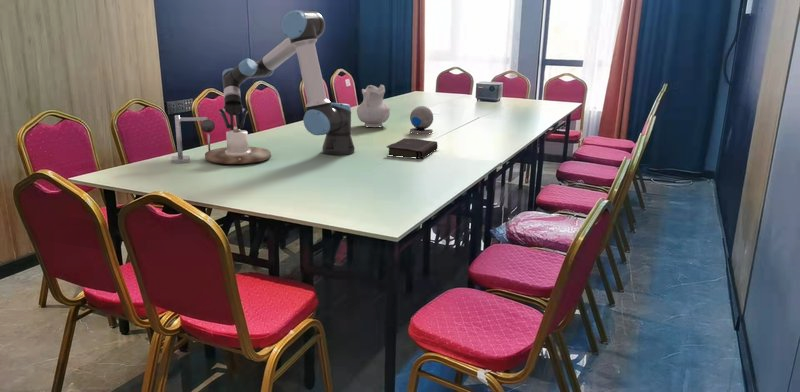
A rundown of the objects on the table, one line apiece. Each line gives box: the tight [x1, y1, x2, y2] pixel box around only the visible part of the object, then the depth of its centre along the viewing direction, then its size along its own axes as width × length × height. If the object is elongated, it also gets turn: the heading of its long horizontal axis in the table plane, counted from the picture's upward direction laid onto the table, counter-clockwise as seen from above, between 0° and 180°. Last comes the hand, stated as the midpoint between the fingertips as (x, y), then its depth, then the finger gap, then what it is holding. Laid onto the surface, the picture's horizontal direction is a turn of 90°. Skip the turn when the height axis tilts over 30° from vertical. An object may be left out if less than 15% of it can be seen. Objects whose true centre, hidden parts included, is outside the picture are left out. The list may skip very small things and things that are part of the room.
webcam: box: [409, 105, 434, 135], centre depth 335 cm, size 13×13×15 cm
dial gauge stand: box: [171, 114, 216, 164], centre depth 255 cm, size 18×7×20 cm, turn 107°
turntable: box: [204, 146, 272, 165], centre depth 262 cm, size 28×28×2 cm
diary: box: [386, 137, 439, 159], centre depth 284 cm, size 19×25×5 cm
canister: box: [225, 128, 251, 157], centre depth 259 cm, size 11×11×11 cm
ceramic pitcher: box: [356, 84, 391, 127], centre depth 348 cm, size 22×20×25 cm
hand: (236, 140), depth 269 cm, fingers closed
